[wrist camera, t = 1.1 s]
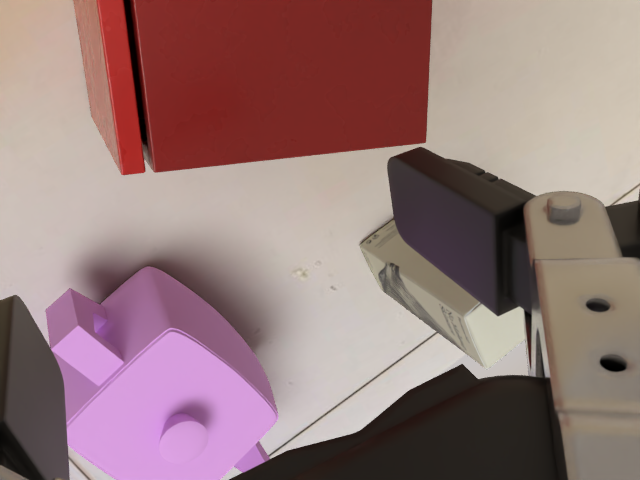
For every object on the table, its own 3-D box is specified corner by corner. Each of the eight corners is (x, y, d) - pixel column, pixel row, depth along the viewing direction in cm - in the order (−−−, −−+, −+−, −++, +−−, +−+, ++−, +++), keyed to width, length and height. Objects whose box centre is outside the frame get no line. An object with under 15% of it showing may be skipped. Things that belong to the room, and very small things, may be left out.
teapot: (289, 373, 45) (348, 455, 36) (190, 470, 44) (225, 580, 35) (120, 217, 36) (143, 276, 27) (-10, 336, 35) (-31, 437, 26)
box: (356, 243, 44) (460, 314, 32) (401, 211, 44) (517, 269, 33) (382, 293, 46) (487, 374, 35) (424, 262, 47) (540, 332, 36)
